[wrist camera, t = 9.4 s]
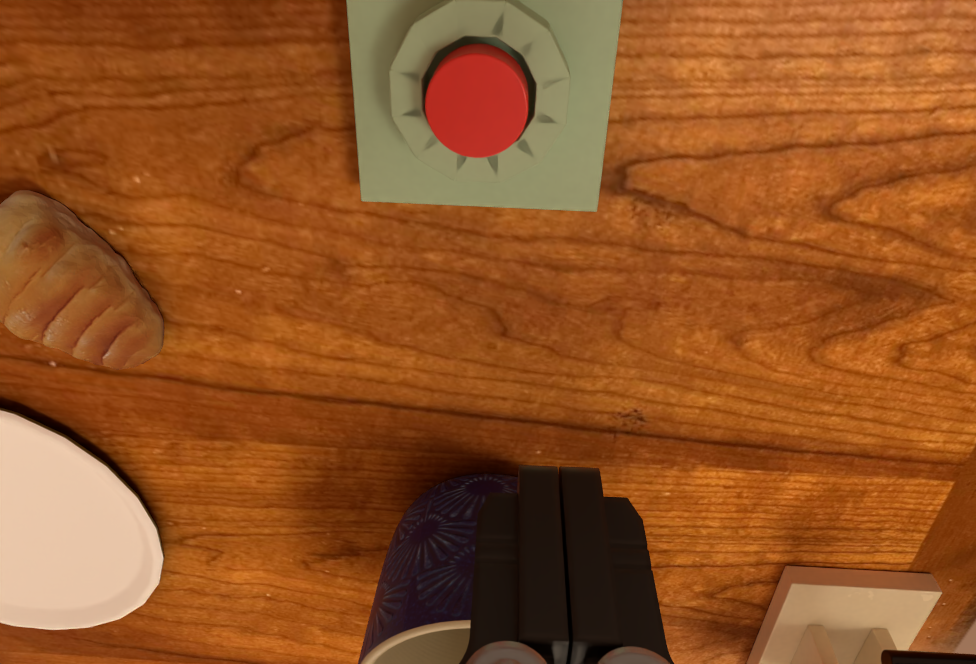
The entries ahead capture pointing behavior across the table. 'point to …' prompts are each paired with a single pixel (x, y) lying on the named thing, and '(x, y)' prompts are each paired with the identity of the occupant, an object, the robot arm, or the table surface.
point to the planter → (430, 576)
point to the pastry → (71, 287)
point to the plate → (68, 533)
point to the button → (477, 101)
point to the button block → (551, 100)
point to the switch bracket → (842, 615)
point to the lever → (925, 657)
